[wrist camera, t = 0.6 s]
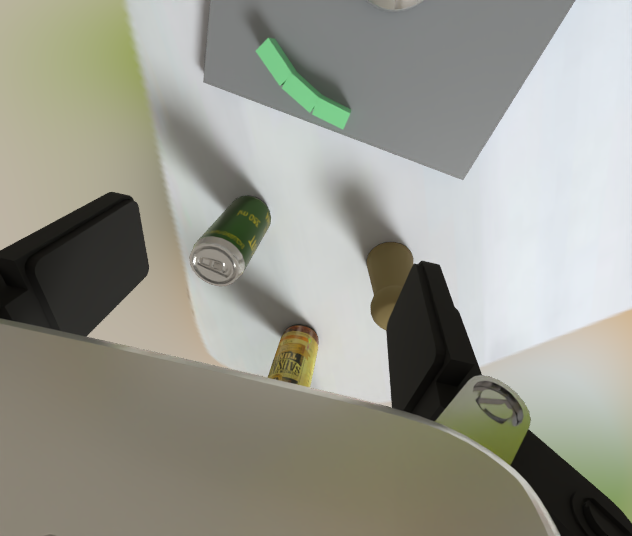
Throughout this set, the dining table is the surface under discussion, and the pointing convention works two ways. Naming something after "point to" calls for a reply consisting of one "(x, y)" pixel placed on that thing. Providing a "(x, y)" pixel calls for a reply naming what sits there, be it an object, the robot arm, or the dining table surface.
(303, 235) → the dining table surface
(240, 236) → the beer can
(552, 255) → the dining table surface
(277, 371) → the sauce bottle
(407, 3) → the knob
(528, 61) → the dial board
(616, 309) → the dining table surface
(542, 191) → the dining table surface
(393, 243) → the cork
